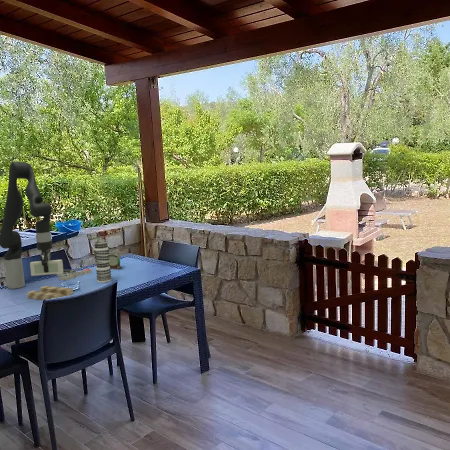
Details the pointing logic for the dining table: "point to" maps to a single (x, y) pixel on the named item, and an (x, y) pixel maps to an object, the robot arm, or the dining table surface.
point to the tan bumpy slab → (50, 292)
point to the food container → (114, 261)
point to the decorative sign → (72, 274)
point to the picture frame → (53, 267)
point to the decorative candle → (102, 261)
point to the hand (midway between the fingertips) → (47, 271)
